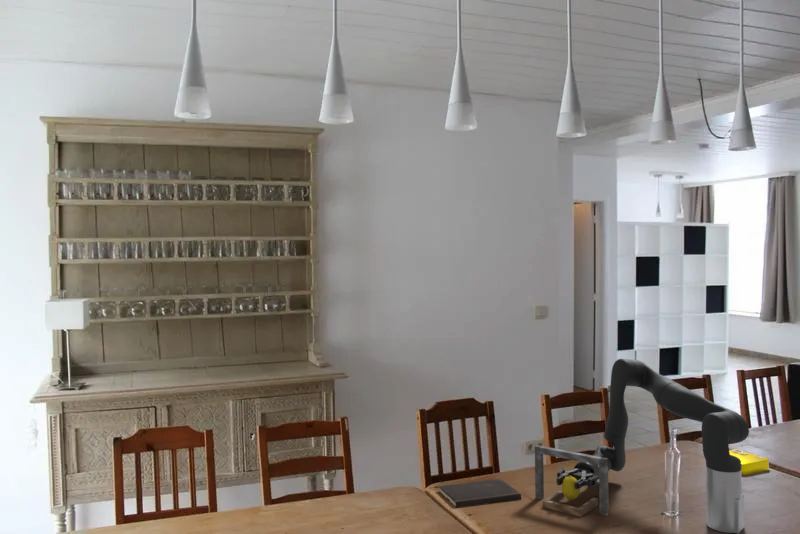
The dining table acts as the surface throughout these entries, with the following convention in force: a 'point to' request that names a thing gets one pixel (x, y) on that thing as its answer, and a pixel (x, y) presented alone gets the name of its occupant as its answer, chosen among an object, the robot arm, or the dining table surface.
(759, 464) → the yellow flat square block
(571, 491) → the lemon
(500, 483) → the hardcover book
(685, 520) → the dining table surface
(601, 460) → the keeper pocket
